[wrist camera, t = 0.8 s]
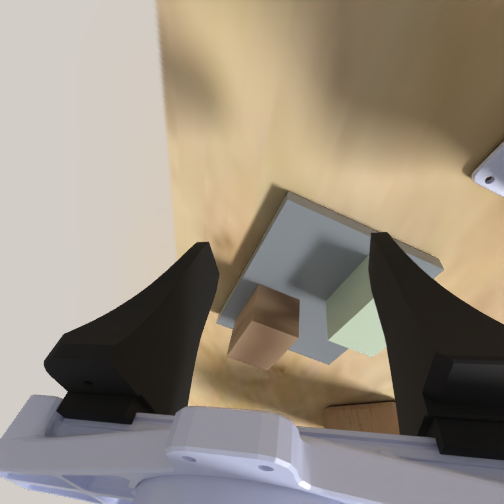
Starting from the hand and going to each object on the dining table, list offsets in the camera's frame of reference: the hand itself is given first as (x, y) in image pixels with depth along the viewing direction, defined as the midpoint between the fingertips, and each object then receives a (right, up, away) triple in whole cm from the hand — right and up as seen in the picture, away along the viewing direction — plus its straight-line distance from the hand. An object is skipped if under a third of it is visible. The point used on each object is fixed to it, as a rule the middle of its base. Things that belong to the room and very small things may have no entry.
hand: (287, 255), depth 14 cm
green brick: (+8, -3, +11) cm, 14 cm away
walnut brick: (0, -5, +15) cm, 16 cm away
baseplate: (+4, -3, +14) cm, 15 cm away
